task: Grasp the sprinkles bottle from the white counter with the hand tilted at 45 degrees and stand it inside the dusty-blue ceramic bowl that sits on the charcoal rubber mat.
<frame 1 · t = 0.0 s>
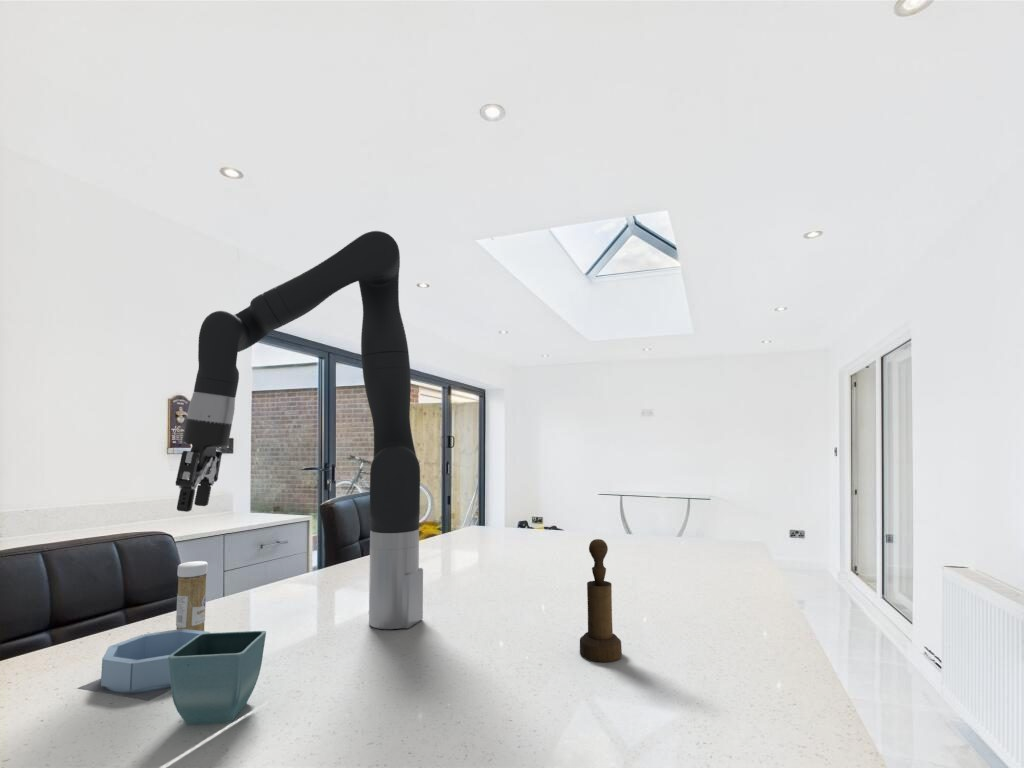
hand: (192, 508, 103), 22 cm above the kitchen island, tool pointing down, fingers open, 8 cm apart
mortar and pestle: (600, 656, 91), on the kitchen island
bowl: (158, 673, 84), resting on mat
mat: (158, 676, 84), on the kitchen island
sprinkles bottle: (189, 644, 97), on the kitchen island
flower pot: (217, 717, 72), on the kitchen island
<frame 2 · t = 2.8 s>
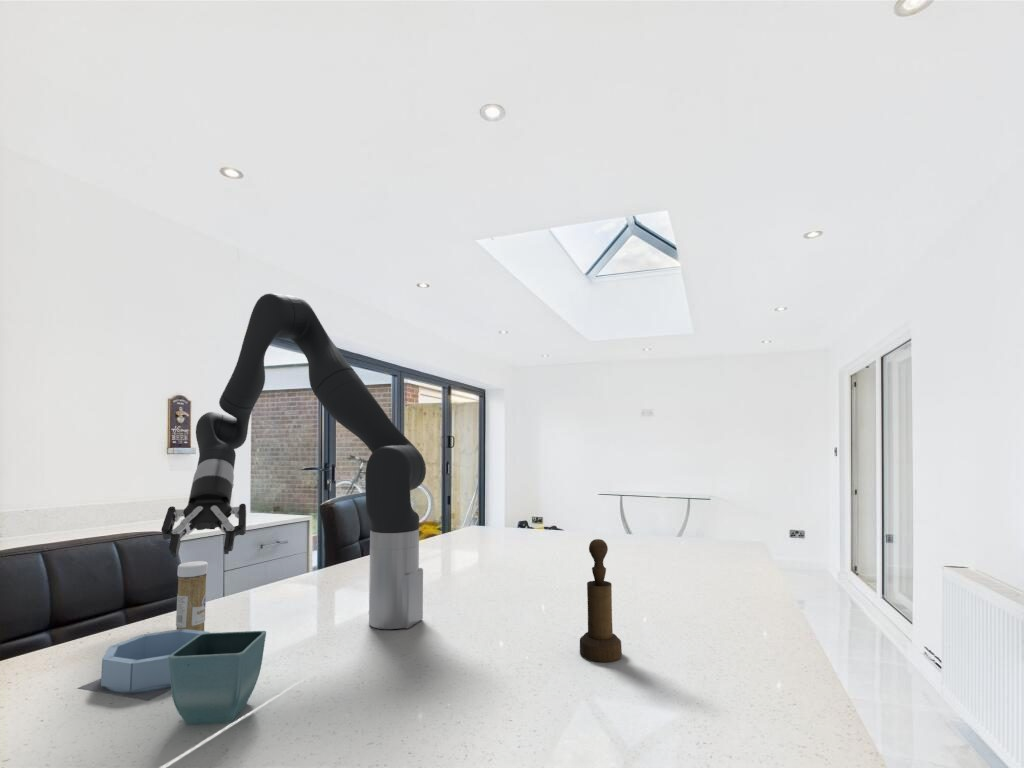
hand: (200, 553, 106), 14 cm above the kitchen island, tool tilted 45°, fingers open, 8 cm apart
nothing on the kitchen island moved.
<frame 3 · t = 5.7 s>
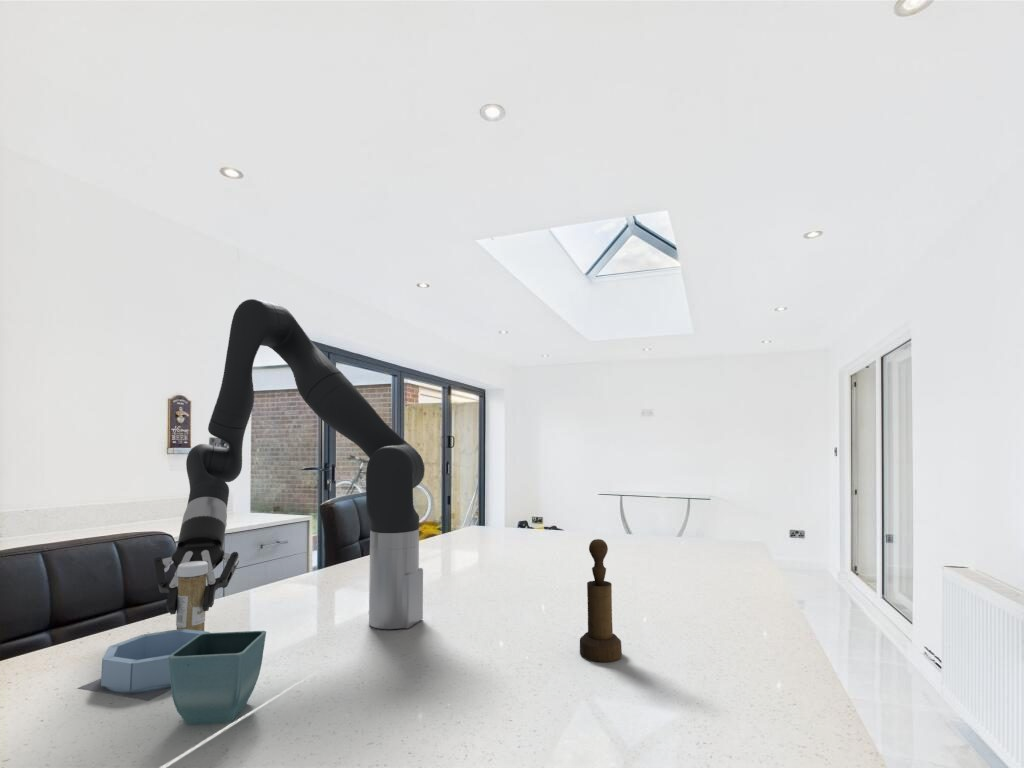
hand: (189, 609, 96), 6 cm above the kitchen island, tool tilted 45°, fingers closed on sprinkles bottle, 4 cm apart
sprinkles bottle: (189, 644, 97), on the kitchen island, touching gripper
everything else where it was.
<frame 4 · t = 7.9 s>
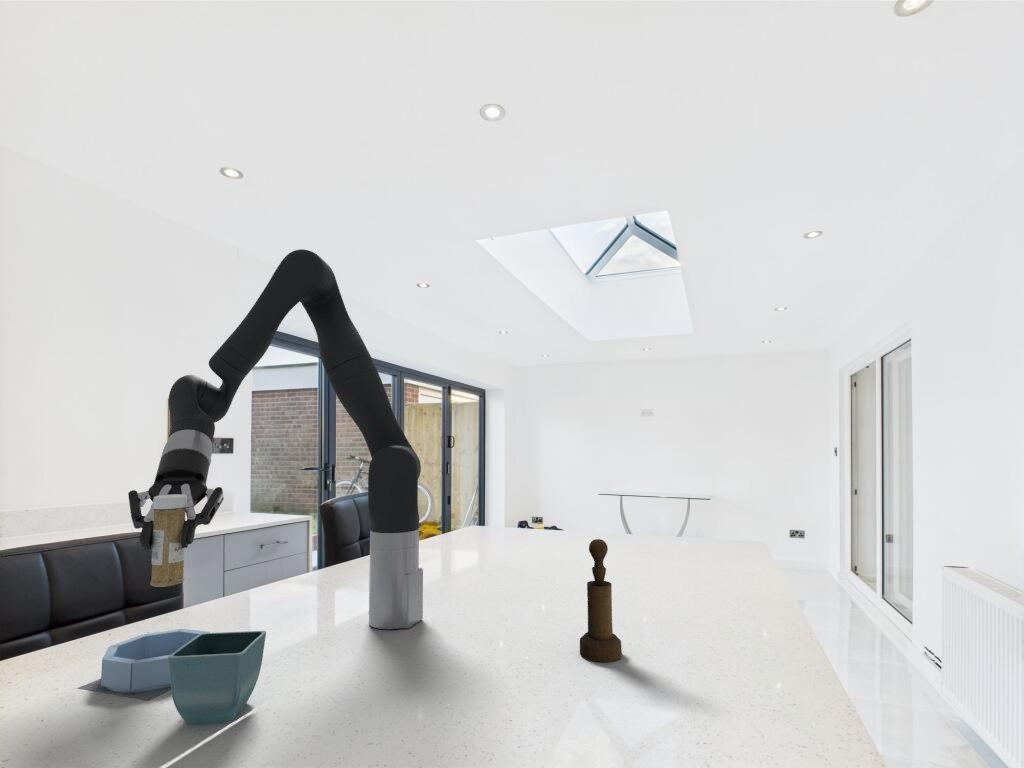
hand: (165, 545, 86), 19 cm above the kitchen island, tool tilted 45°, fingers closed on sprinkles bottle, 4 cm apart
sprinkles bottle: (167, 585, 87), point 12 cm above the kitchen island, touching gripper
everything else where it was.
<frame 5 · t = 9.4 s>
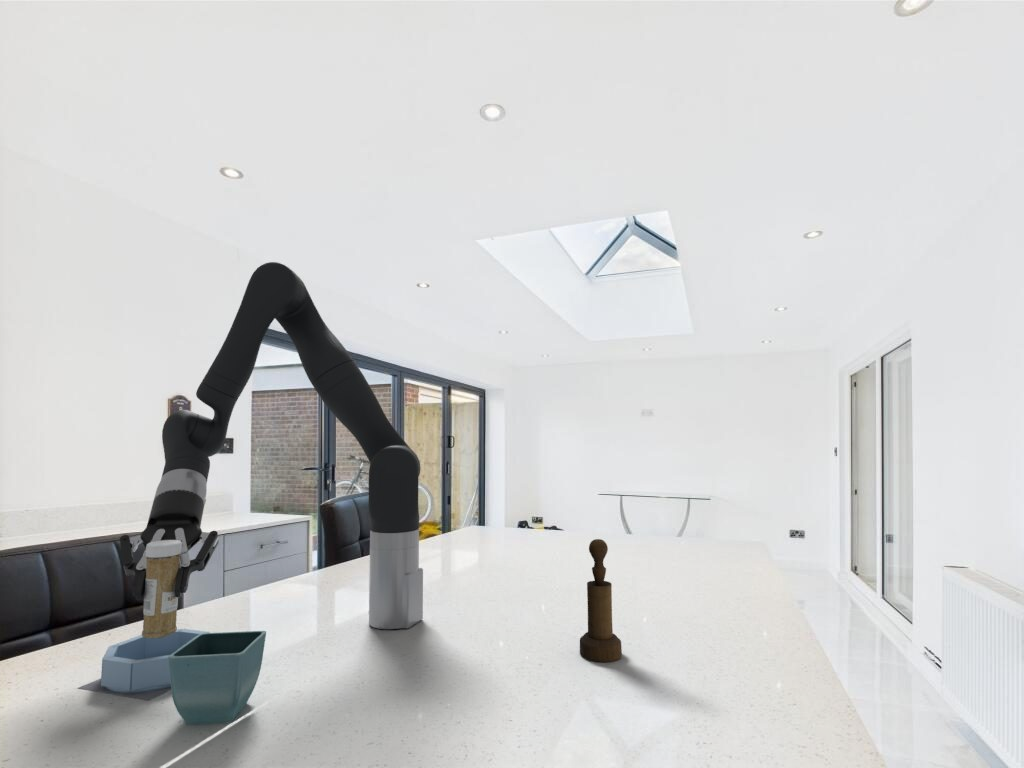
hand: (158, 595, 83), 12 cm above the kitchen island, tool tilted 45°, fingers closed on sprinkles bottle, 4 cm apart
sprinkles bottle: (158, 635, 85), point 6 cm above the kitchen island, touching gripper
everything else where it was.
when the fingers open (8 cm above the kitchen island, at t = 10.5 s): sprinkles bottle drops 1 cm, resting on bowl.
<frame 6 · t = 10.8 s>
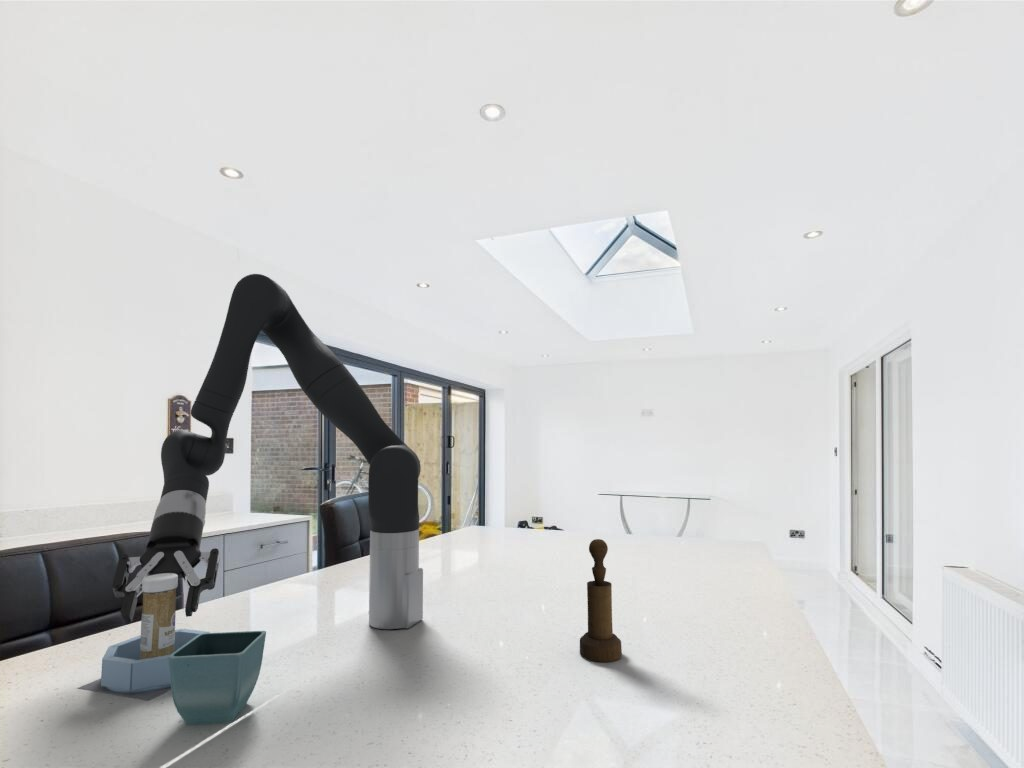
hand: (158, 616, 83), 9 cm above the kitchen island, tool tilted 45°, fingers open, 7 cm apart
sprinkles bottle: (156, 670, 84), point 1 cm above the kitchen island, touching bowl
everything else where it was.
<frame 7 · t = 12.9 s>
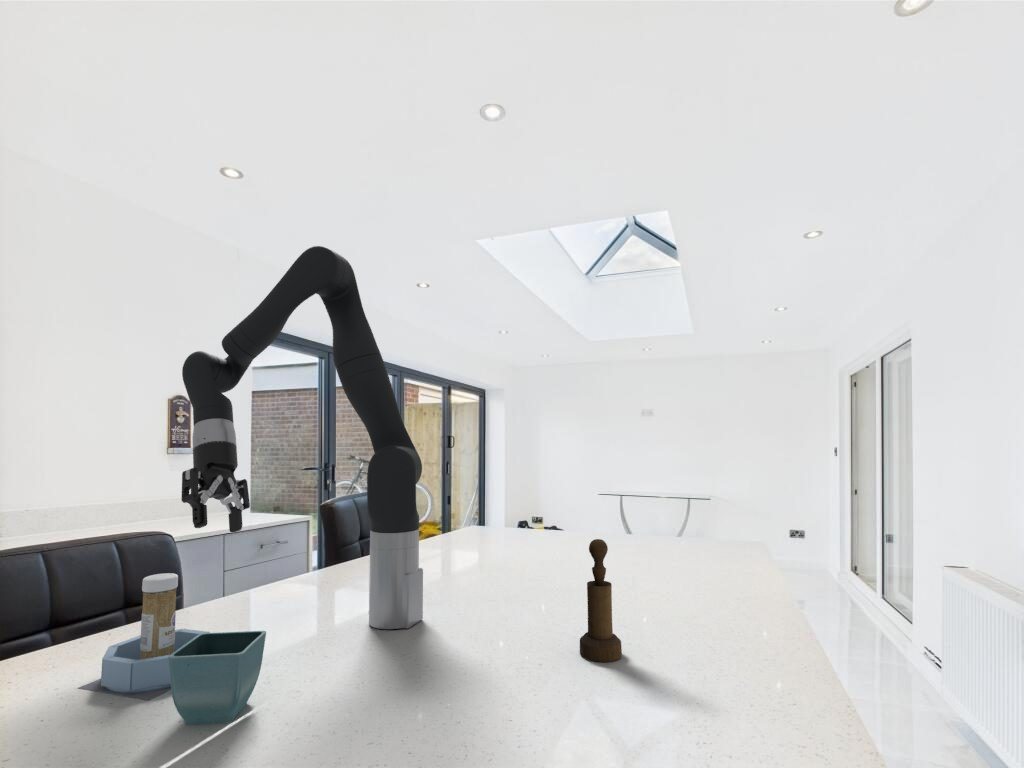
hand: (219, 529, 104), 18 cm above the kitchen island, tool tilted 25°, fingers open, 8 cm apart
nothing on the kitchen island moved.
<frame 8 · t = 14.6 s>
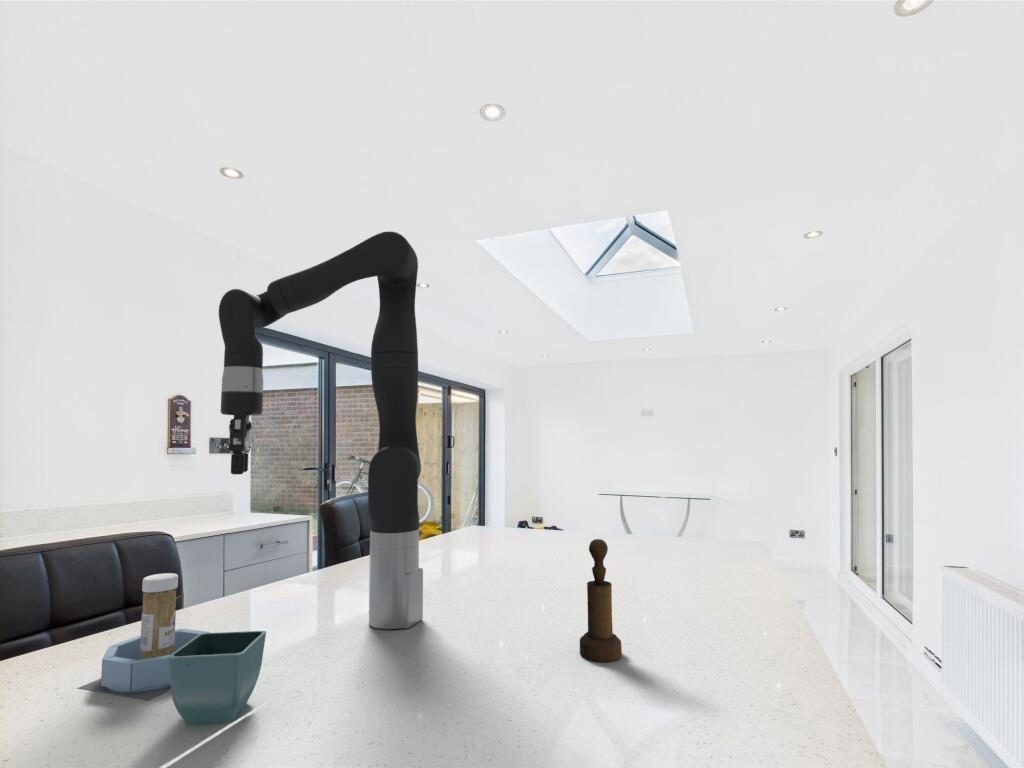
hand: (239, 473, 112), 28 cm above the kitchen island, tool pointing down, fingers open, 8 cm apart
nothing on the kitchen island moved.
at the end: sprinkles bottle inside the target area on the bowl (0.4 cm from its centre), point 0.4 cm above the bowl's base; sprinkles bottle tilted 0°; the gripper is holding nothing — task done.
